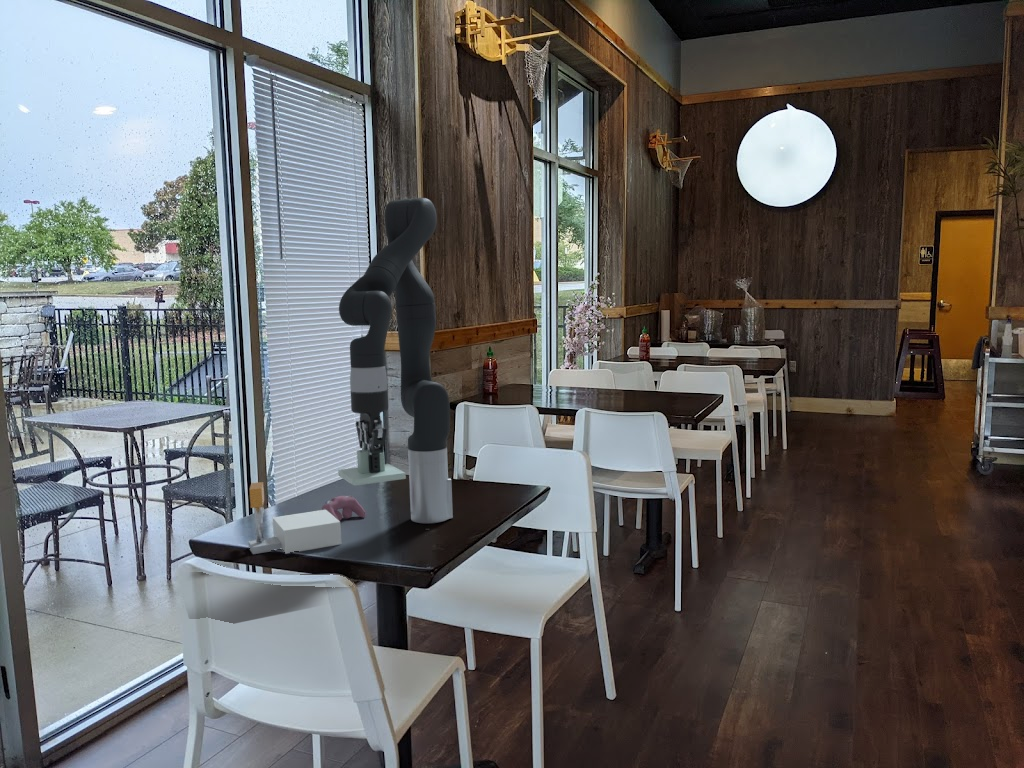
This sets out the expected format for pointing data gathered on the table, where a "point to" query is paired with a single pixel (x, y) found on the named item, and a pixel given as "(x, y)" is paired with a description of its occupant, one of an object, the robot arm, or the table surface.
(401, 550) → the table surface
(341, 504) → the pink animal figurine
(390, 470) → the cover
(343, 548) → the table surface
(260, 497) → the t key
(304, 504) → the table surface
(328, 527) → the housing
